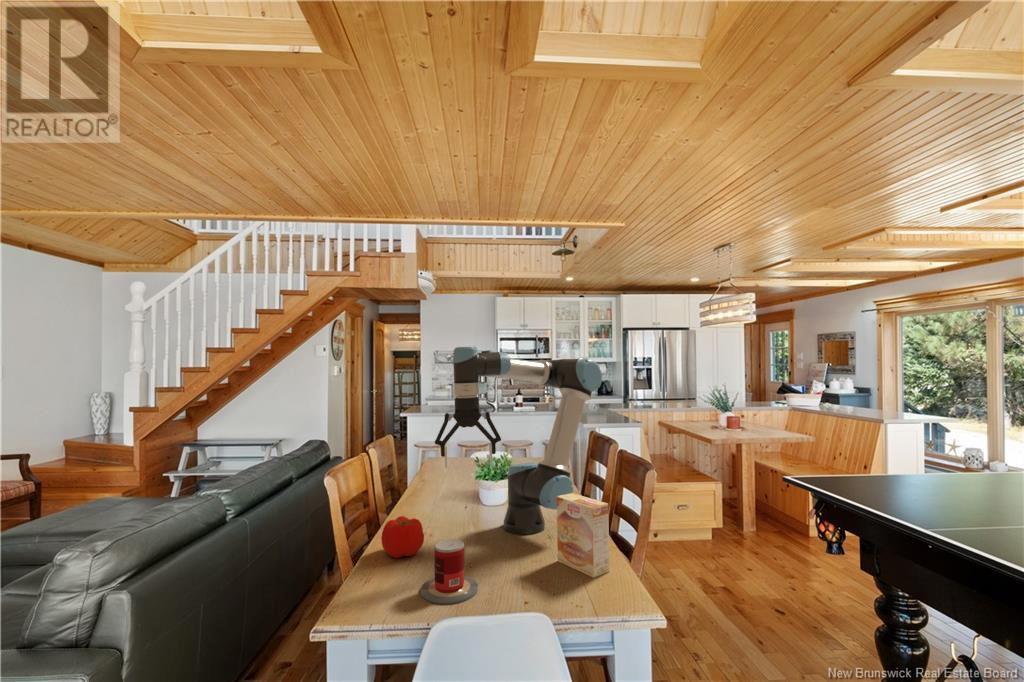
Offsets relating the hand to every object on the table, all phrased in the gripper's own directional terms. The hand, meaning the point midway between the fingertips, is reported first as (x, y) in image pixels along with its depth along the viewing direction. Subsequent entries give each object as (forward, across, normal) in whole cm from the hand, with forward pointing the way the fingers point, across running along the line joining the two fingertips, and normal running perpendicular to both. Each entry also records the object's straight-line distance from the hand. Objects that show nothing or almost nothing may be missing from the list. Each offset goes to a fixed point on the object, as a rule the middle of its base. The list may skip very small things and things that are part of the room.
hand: (468, 466), depth 148 cm
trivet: (+28, -6, -19) cm, 34 cm away
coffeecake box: (+30, +33, -8) cm, 45 cm away
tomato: (+28, -22, +7) cm, 37 cm away
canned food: (+27, -6, -19) cm, 34 cm away
